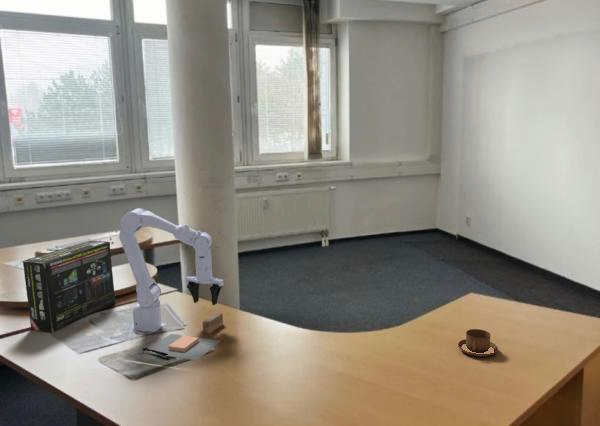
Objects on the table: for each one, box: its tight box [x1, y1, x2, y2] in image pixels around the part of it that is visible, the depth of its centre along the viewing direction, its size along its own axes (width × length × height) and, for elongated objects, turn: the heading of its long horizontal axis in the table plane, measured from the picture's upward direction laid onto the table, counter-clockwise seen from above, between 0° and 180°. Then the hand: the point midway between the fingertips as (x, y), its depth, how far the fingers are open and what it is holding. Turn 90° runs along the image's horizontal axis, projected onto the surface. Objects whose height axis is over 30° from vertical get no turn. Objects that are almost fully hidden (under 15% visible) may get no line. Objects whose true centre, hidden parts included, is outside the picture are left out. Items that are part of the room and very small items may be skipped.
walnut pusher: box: [202, 312, 224, 335], centre depth 190 cm, size 2×10×5 cm, turn 160°
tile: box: [168, 335, 200, 352], centre depth 176 cm, size 6×1×9 cm
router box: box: [22, 240, 117, 333], centre depth 206 cm, size 36×11×27 cm, turn 160°
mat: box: [142, 333, 221, 361], centre depth 176 cm, size 20×16×1 cm
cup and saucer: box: [457, 328, 499, 357], centre depth 168 cm, size 12×12×6 cm
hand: (205, 303), depth 192 cm, fingers open, 7 cm apart
